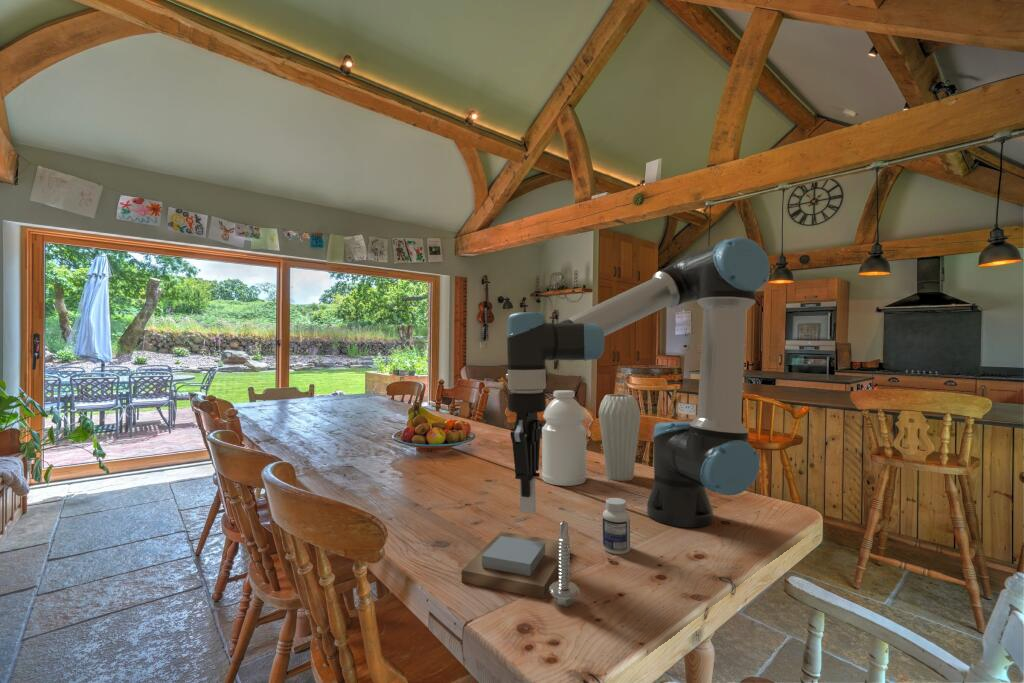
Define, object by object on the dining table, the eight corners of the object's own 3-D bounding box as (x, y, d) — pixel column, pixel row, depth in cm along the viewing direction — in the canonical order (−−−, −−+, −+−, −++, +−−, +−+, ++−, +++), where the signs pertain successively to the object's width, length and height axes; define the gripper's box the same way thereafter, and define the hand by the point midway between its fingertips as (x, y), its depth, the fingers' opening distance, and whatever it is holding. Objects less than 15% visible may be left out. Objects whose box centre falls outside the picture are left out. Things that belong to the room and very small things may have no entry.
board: (569, 552, 89) (569, 542, 89) (543, 598, 72) (543, 586, 72) (500, 541, 94) (500, 531, 94) (461, 581, 78) (461, 570, 78)
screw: (585, 604, 71) (563, 614, 68) (564, 591, 75) (542, 600, 72) (585, 521, 71) (563, 528, 68) (564, 513, 75) (542, 519, 72)
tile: (545, 543, 84) (530, 564, 75) (545, 554, 84) (530, 577, 75) (501, 535, 87) (481, 555, 78) (501, 547, 87) (481, 568, 78)
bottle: (532, 479, 140) (532, 390, 141) (560, 471, 150) (560, 388, 150) (568, 489, 130) (567, 393, 130) (595, 480, 140) (595, 391, 140)
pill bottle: (610, 541, 95) (610, 494, 95) (634, 548, 91) (633, 500, 91) (598, 549, 90) (597, 501, 91) (622, 557, 87) (622, 507, 87)
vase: (591, 473, 147) (591, 394, 147) (626, 470, 151) (626, 393, 151) (612, 485, 134) (611, 398, 135) (649, 481, 138) (649, 396, 139)
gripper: (519, 387, 95) (520, 499, 94) (496, 393, 83) (497, 521, 82) (553, 388, 92) (554, 502, 92) (535, 394, 80) (536, 526, 80)
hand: (527, 511), depth 87 cm, fingers closed
